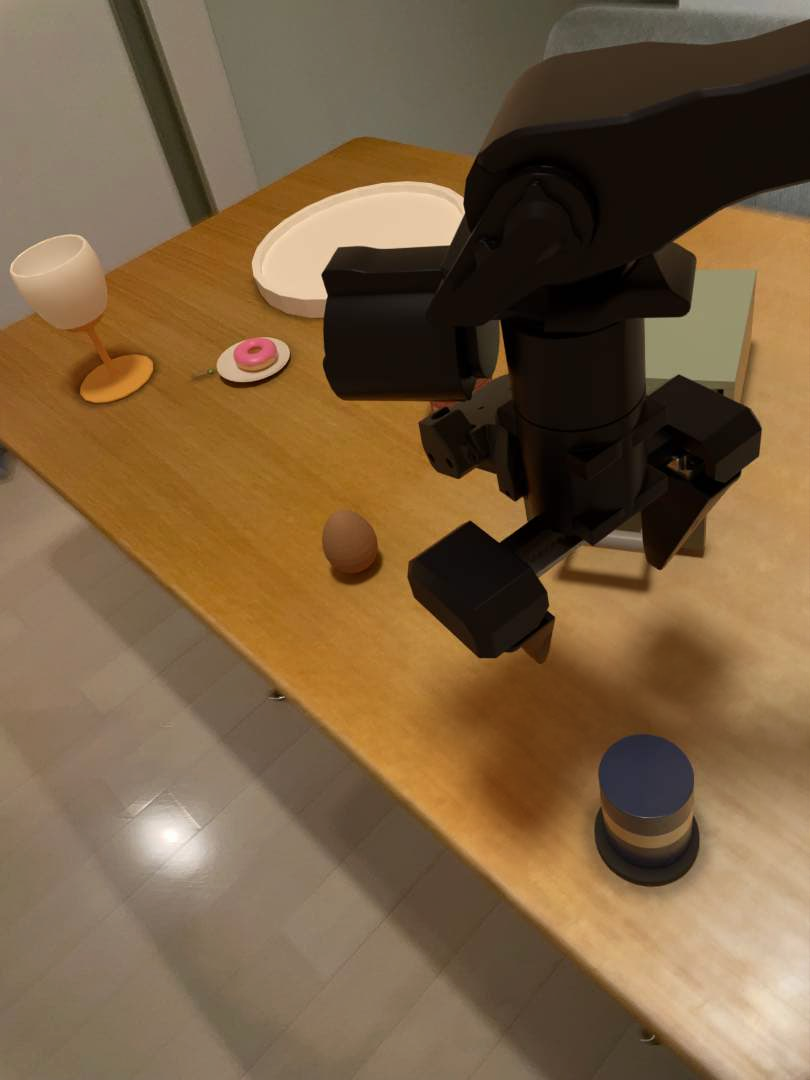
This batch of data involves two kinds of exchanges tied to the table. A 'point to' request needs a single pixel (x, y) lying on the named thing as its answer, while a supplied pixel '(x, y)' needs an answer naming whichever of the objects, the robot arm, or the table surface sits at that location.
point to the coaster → (639, 873)
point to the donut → (252, 359)
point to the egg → (349, 542)
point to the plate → (349, 237)
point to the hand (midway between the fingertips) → (597, 610)
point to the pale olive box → (706, 334)
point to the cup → (77, 308)
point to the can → (647, 800)
